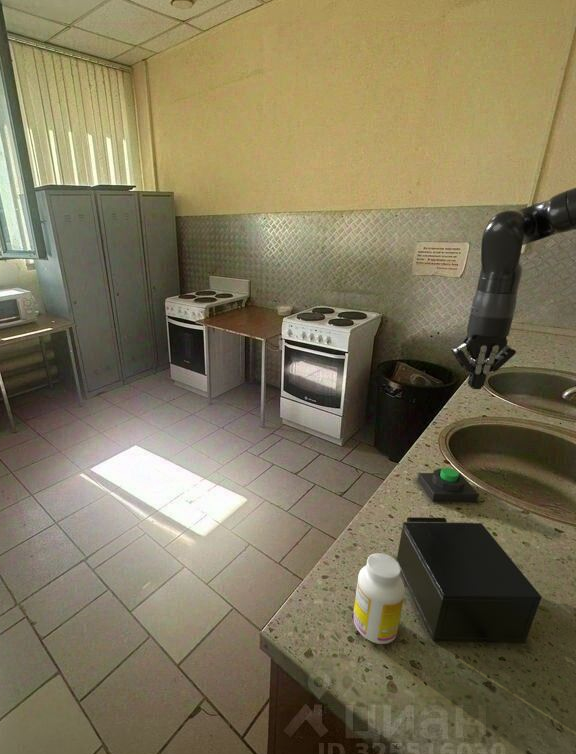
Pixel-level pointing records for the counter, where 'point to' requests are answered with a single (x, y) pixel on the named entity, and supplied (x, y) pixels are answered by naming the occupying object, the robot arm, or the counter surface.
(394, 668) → the counter surface
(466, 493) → the control block
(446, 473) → the button
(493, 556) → the black box
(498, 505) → the counter surface
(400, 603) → the supplement bottle
